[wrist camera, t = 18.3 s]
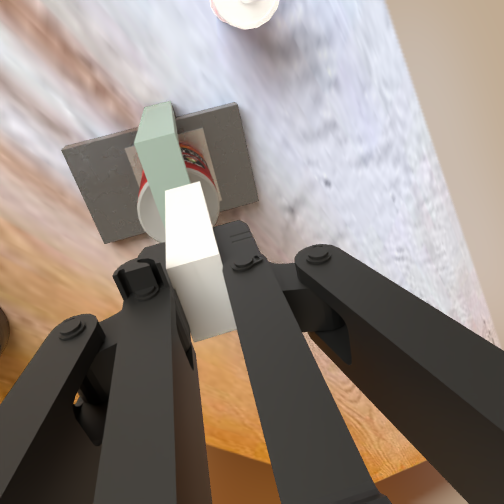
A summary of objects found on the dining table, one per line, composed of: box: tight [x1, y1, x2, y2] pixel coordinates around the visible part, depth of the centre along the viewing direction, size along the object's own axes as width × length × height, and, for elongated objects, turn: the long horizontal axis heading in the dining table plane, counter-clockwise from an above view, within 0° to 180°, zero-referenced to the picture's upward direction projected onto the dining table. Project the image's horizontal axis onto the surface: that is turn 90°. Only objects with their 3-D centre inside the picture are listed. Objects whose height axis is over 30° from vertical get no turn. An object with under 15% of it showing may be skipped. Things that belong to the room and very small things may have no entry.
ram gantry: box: [134, 101, 191, 231], centre depth 40 cm, size 3×16×18 cm, turn 13°
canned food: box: [137, 144, 220, 243], centre depth 42 cm, size 8×8×11 cm
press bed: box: [61, 102, 259, 244], centre depth 47 cm, size 20×12×2 cm, turn 103°
